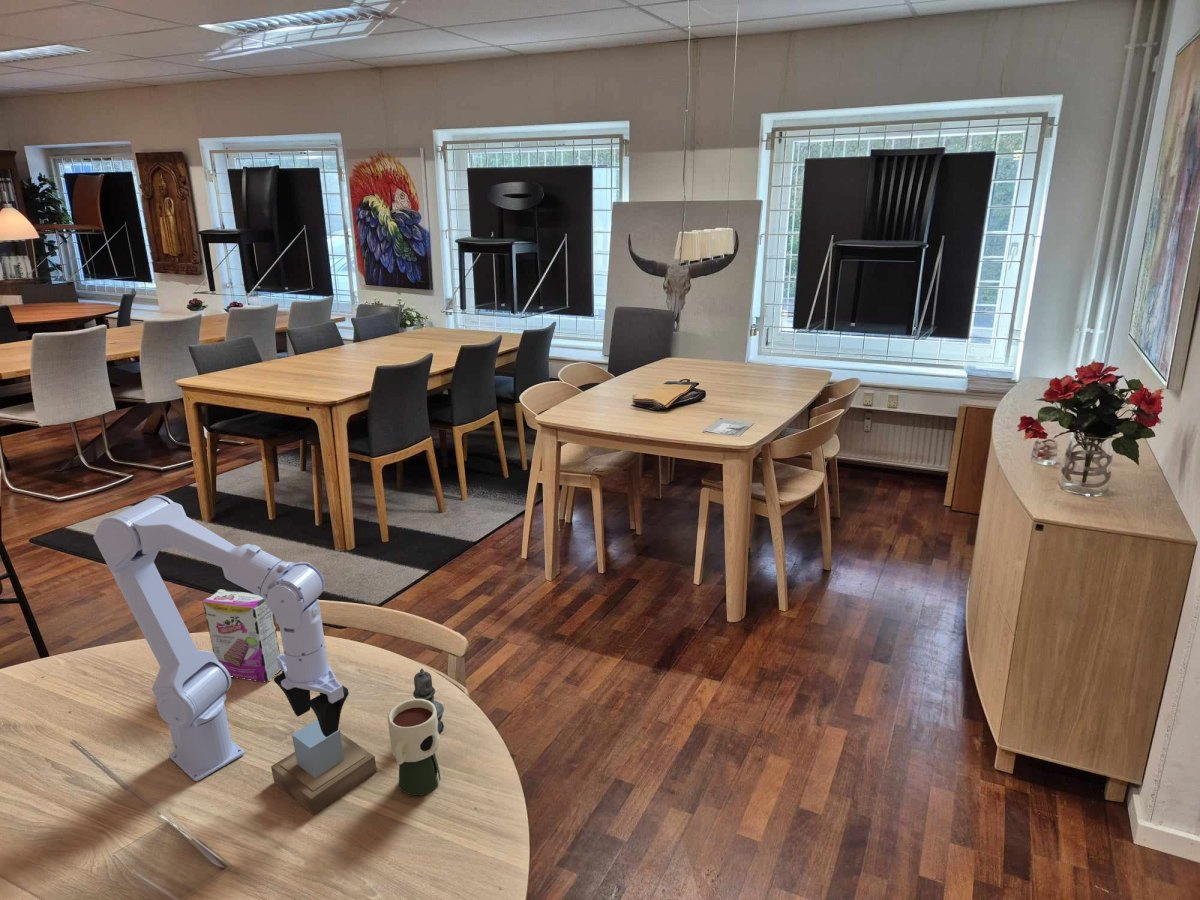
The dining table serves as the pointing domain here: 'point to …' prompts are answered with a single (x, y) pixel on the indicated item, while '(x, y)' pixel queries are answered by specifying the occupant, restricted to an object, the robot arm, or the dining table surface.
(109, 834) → the dining table surface
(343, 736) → the walnut plinth
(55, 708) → the dining table surface
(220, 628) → the candy bar box
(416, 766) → the character mug
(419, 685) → the salt shaker
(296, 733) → the blue block
